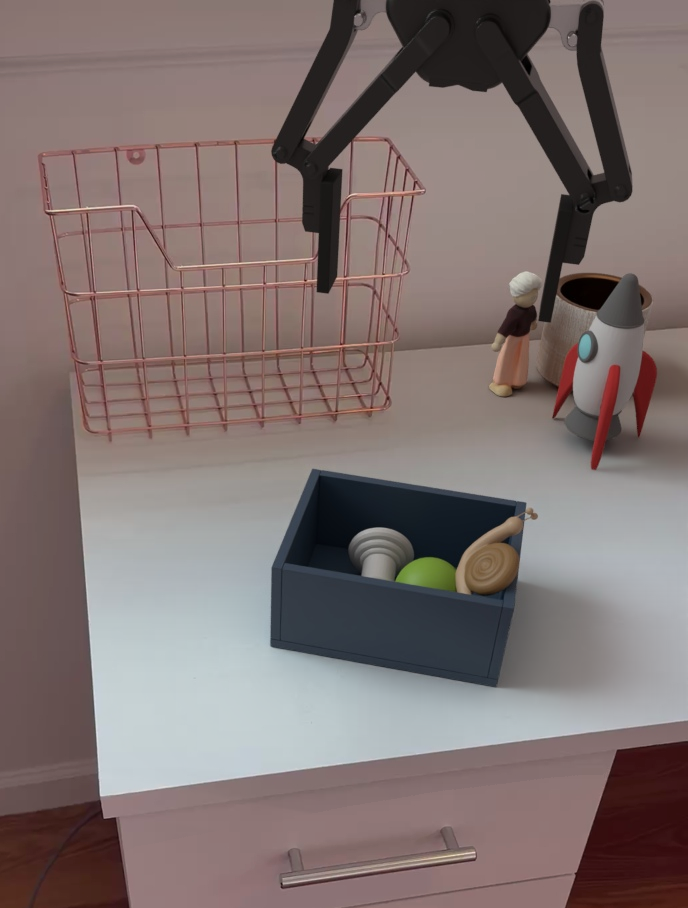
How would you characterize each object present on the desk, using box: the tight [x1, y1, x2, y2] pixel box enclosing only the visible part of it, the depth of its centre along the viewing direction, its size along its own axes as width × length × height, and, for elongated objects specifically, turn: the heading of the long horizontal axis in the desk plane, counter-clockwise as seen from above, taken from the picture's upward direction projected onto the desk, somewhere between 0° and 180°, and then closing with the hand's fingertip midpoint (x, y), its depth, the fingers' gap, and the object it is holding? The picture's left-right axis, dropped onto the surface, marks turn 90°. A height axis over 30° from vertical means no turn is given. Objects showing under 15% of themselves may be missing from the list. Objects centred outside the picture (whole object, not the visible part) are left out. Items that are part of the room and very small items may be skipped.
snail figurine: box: [395, 507, 539, 596], centre depth 77 cm, size 5×6×12 cm
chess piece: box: [348, 528, 414, 581], centre depth 81 cm, size 5×5×9 cm
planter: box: [535, 272, 654, 394], centre depth 112 cm, size 11×11×10 cm
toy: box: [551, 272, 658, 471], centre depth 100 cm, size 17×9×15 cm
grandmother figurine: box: [488, 270, 543, 397], centre depth 109 cm, size 8×4×13 cm, turn 150°
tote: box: [269, 468, 527, 688], centre depth 81 cm, size 18×14×8 cm
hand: (434, 299), depth 63 cm, fingers open, 13 cm apart
